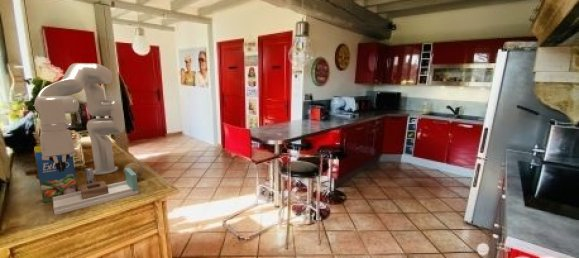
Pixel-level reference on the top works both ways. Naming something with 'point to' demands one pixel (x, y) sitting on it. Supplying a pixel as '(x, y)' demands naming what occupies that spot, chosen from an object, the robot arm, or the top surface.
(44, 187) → the blue food package
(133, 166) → the natural sponge
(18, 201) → the top surface
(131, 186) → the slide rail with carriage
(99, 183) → the block
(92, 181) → the dowel
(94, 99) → the robot arm
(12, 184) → the top surface
